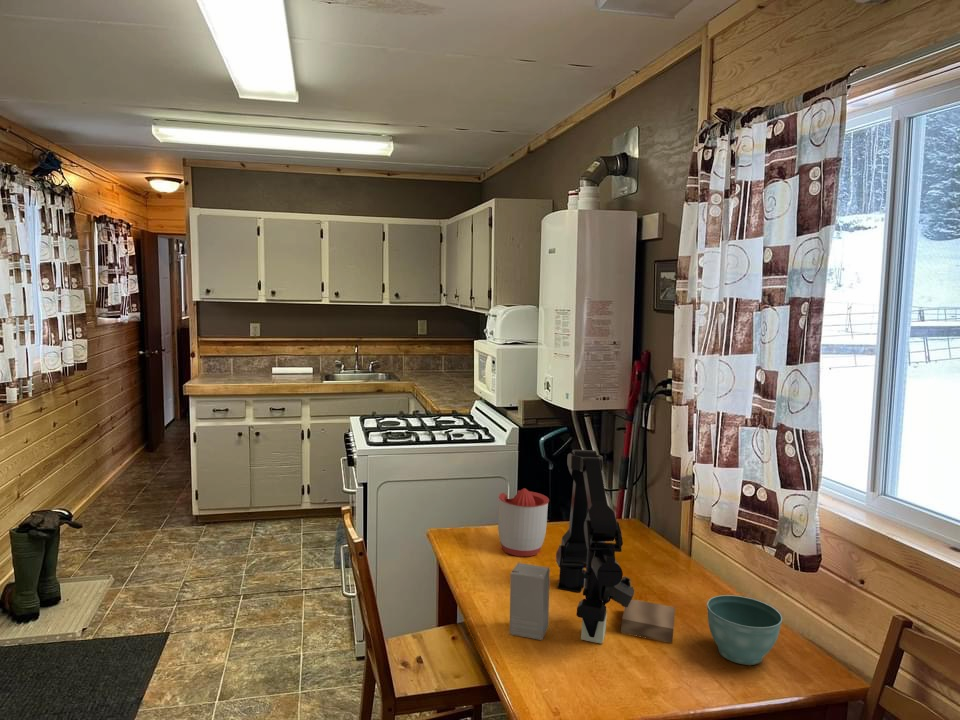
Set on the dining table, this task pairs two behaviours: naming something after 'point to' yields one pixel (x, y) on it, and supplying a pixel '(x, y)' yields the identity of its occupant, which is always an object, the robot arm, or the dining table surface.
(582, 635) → the sage block
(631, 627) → the walnut block
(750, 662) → the flower pot
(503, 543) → the citrus juicer
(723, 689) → the dining table surface
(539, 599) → the skincare box
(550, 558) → the dining table surface
